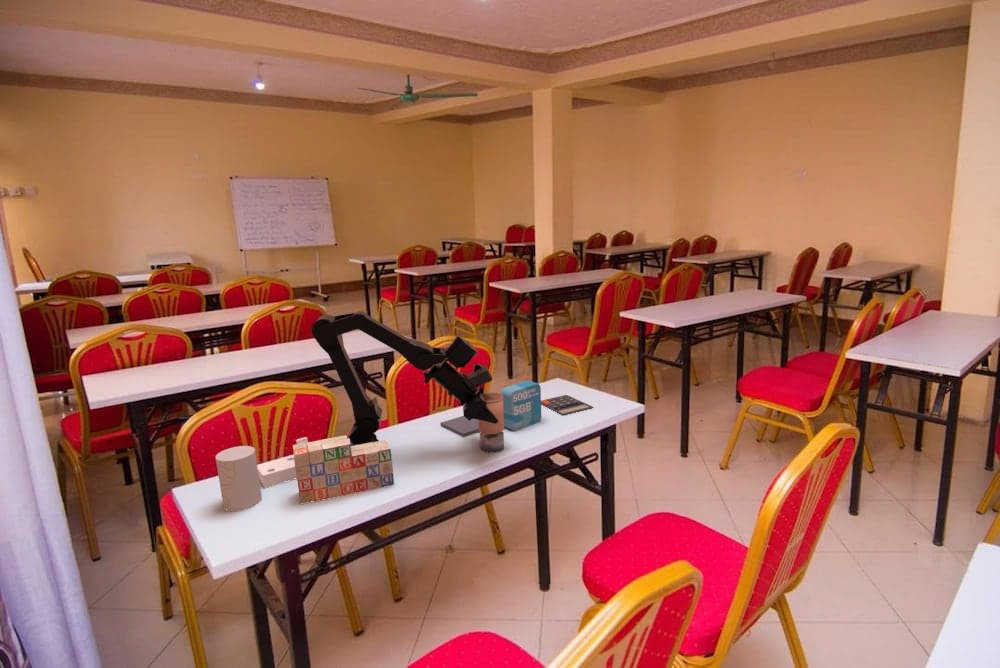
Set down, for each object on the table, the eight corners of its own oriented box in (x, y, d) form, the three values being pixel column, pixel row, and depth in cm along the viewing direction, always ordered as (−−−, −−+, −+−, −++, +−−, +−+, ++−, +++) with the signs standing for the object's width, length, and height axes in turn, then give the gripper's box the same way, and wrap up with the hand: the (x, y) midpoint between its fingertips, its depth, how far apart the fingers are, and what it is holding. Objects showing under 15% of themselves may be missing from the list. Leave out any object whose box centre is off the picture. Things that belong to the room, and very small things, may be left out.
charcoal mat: (463, 437, 167) (463, 433, 167) (440, 425, 176) (440, 422, 176) (497, 426, 174) (496, 422, 174) (473, 415, 183) (473, 412, 183)
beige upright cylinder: (218, 503, 135) (210, 454, 133) (253, 490, 141) (246, 443, 138) (231, 515, 130) (223, 464, 127) (267, 501, 135) (260, 452, 133)
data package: (512, 432, 169) (510, 392, 166) (501, 428, 172) (500, 388, 170) (541, 420, 177) (540, 382, 174) (531, 417, 180) (530, 379, 177)
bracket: (309, 464, 155) (306, 437, 153) (318, 473, 149) (315, 445, 147) (257, 478, 148) (253, 450, 146) (264, 489, 142) (260, 460, 140)
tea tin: (488, 454, 154) (487, 440, 154) (475, 447, 160) (475, 433, 159) (508, 448, 158) (508, 434, 157) (496, 441, 163) (495, 427, 162)
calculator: (566, 394, 198) (593, 406, 185) (566, 396, 198) (593, 409, 185) (536, 401, 193) (562, 414, 180) (536, 403, 193) (562, 417, 180)
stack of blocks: (389, 474, 146) (385, 427, 143) (394, 485, 140) (390, 436, 138) (298, 493, 139) (292, 444, 136) (300, 505, 133) (293, 454, 130)
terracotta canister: (486, 436, 153) (485, 403, 151) (473, 428, 159) (471, 396, 157) (509, 429, 156) (508, 397, 155) (495, 422, 162) (494, 391, 160)
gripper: (474, 367, 144) (521, 407, 147) (470, 349, 162) (512, 385, 165) (444, 400, 145) (491, 439, 148) (443, 378, 163) (485, 413, 166)
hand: (496, 417), depth 157 cm, fingers closed on terracotta canister, 7 cm apart
